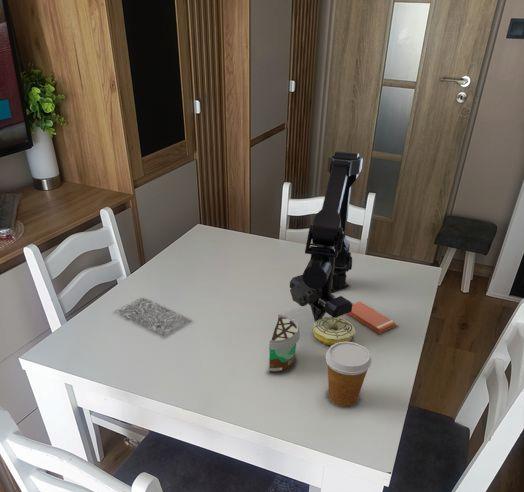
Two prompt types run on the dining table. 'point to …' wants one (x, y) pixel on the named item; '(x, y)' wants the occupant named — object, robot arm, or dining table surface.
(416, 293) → the dining table surface
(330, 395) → the disposable coffee cup
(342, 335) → the decorated donut
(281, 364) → the food container
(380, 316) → the orange flat bar
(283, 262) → the dining table surface
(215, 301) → the dining table surface
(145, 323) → the rug
